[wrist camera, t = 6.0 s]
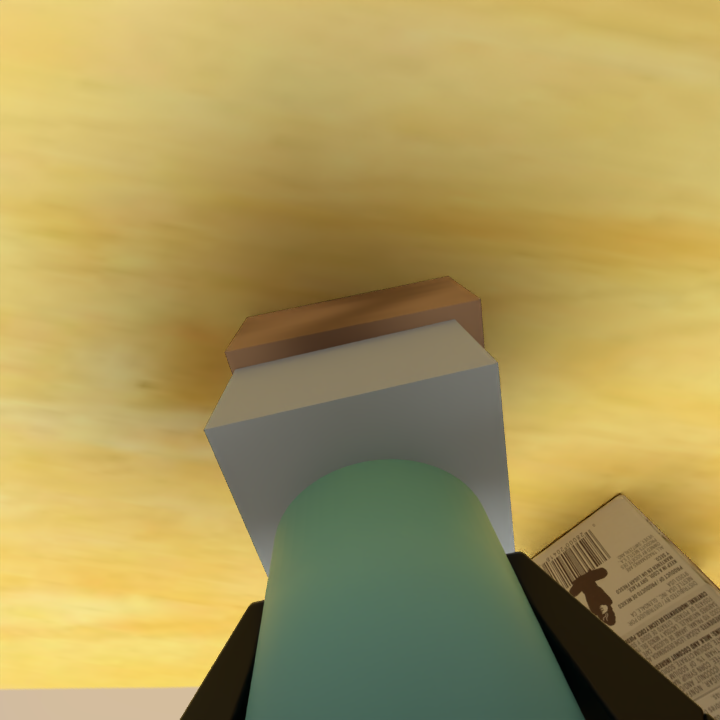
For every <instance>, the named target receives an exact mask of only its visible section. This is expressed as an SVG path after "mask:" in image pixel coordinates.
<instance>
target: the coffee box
mask: <svg viewBox="0 0 720 720" xmlns="http://www.w3.org/2000/svg"><path fill="white" fill-rule="evenodd" d="M532 560H533V561H534V562H535V563H536V564H537V565H538V566H540V567H541V568H542V569H543V570H544V571H545V572H546V573H548V574H549V575H550V576H551V577H552V578H553V579H554V580H556V581H557V582H558V583H559V584H560V585H561V586H563V587H564V588H565V589H566V590H567V591H568V592H569V593H571V594H572V595H573V596H574V597H575V598H576V599H577V600H579V601H580V602H581V603H582V604H583V605H584V606H585V607H587V608H588V609H589V610H590V611H591V612H592V613H593V614H595V615H596V616H597V617H598V618H599V619H600V620H602V621H603V622H604V623H605V624H606V625H607V626H608V627H610V628H611V629H612V630H613V631H614V632H615V633H616V634H618V635H619V636H620V637H621V638H622V639H623V640H624V641H626V642H627V643H628V644H629V645H630V646H631V647H633V648H634V649H635V650H636V651H637V652H638V653H639V654H641V655H642V656H643V657H644V658H645V659H646V660H647V661H649V662H650V663H651V664H652V665H653V666H654V667H655V668H657V669H658V670H659V671H660V672H661V673H662V674H663V675H665V676H666V677H667V678H668V679H669V680H670V681H672V682H673V683H674V684H675V685H676V686H677V687H678V688H680V689H681V690H682V691H683V692H684V693H685V694H686V695H688V696H689V697H690V698H691V699H692V700H693V701H694V702H696V703H697V704H698V705H699V706H700V707H701V708H702V709H703V712H704V714H705V713H708V714H710V715H711V716H712V717H713V718H714V719H715V720H720V589H719V588H718V587H717V586H716V585H715V584H714V583H713V582H712V581H711V580H710V579H709V578H708V577H707V576H706V575H705V574H704V573H703V572H702V571H701V570H700V569H699V568H698V567H697V566H696V565H695V564H694V563H693V562H692V561H691V560H690V559H689V558H688V557H687V556H686V555H685V554H684V553H683V552H682V551H681V550H680V549H679V548H678V547H677V546H675V545H674V544H673V543H672V542H671V541H670V540H669V539H668V538H667V537H666V536H665V535H664V534H663V533H662V532H661V531H660V530H659V529H658V528H657V527H656V526H655V525H654V524H653V523H652V522H651V521H650V520H649V519H648V518H647V517H646V516H645V515H644V514H643V513H642V512H641V511H640V510H639V509H638V508H637V507H635V506H634V505H633V504H632V503H631V502H630V501H629V500H628V499H627V498H626V497H625V496H624V495H619V496H617V497H615V498H614V499H613V500H611V501H610V502H609V503H607V504H606V505H605V506H603V507H602V508H600V509H599V510H598V511H596V512H595V513H594V514H592V515H591V516H590V517H588V518H587V519H586V520H584V521H583V522H582V523H580V524H579V525H578V526H576V527H575V528H574V529H572V530H571V531H570V532H568V533H567V534H566V535H564V536H563V537H562V538H560V539H559V540H557V541H556V542H555V543H553V544H552V545H551V546H550V547H548V548H547V549H545V550H544V551H543V552H541V553H540V554H538V555H537V556H536V557H534V558H533V559H532Z"/></svg>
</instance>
